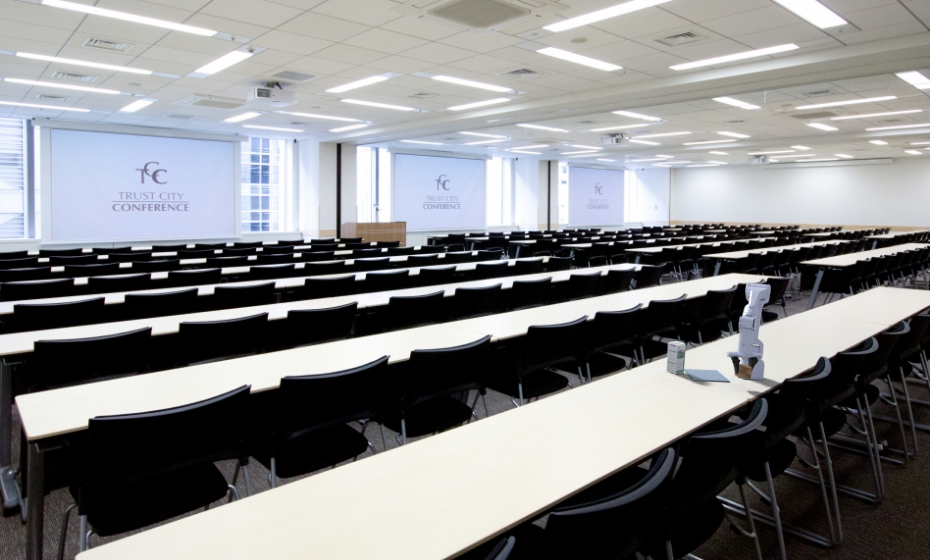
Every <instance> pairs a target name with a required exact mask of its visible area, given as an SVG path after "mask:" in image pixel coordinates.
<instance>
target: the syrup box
mask: <svg viewBox="0 0 930 560" xmlns="http://www.w3.org/2000/svg"><path fill="white" fill-rule="evenodd" d="M686 349H687V348H686V343H685V342H682V341H679V340H677V341H670V342H669V341H668V343H667V353H666V354H667V355H666V356H667V357H666V372H667V371H668V372H667V373H670V372H671V373H670V374H673V373H674V374H673V375H679V373H680V374H684V373H685V372H684V369H685V361H686Z"/></svg>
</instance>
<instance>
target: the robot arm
mask: <svg viewBox="0 0 930 560" xmlns="http://www.w3.org/2000/svg"><path fill="white" fill-rule="evenodd" d="M771 287H772V286H771V285H770V284H763V283H762V284H761V283H753V282H747V284H746V286H745V291H744V292H745V299H746V300H747V301H748V304H746V305H745V306H744V308H743V312H742V316H739V320H738V321H739V322H738V333H739V334H738V344H737V345H738V346H737V351H726V357H727V358H730V360H731V362H732V366H733V371H734V374H735V373H736V374H738V371H739V364H747V365H749V366H750V367H751V368H752V371H751V379H750V380H762V381H763V380H765V379H764V376H765V375H764V374H765V362H764V360H763V357H764V346H765V344H764V343H763V341H762V340H760V339H759V332H760V325H761V318H762V312H763V311H762V310H763V307H764V305H765V304H768V303H769V301H770V295H771Z"/></svg>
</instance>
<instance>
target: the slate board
mask: <svg viewBox="0 0 930 560" xmlns="http://www.w3.org/2000/svg"><path fill="white" fill-rule="evenodd" d="M684 371H685V372H686V373H687V374H686V373H685V372H684V373H685V374H686V375H688V376H689V378H691V380H692V381H694V382H695V381H696V382H716V383H717V382H719V383H721V382H722V383H730V382H731V381H730V379H728V378H727V377H726V376H725V375H723V374H722V373H721V372H720V371H719V370H717V369H696V368H684Z"/></svg>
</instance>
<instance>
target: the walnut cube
mask: <svg viewBox="0 0 930 560" xmlns="http://www.w3.org/2000/svg"><path fill="white" fill-rule="evenodd" d="M751 371H752V368H751V367H750V366H749V365H747V364H741V363H740V364H739V371H738V374H736V373H735V372H734V376H735V377H736V378H738V379H743V380H752V379H751Z"/></svg>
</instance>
